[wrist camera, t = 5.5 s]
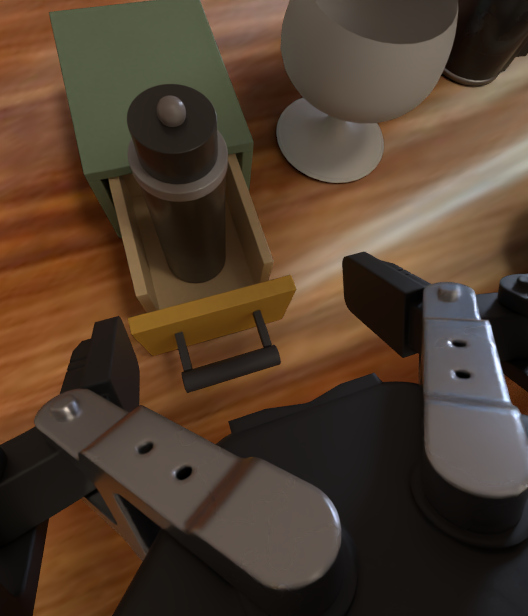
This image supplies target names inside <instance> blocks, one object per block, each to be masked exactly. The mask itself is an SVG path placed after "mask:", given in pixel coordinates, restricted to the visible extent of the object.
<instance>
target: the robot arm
mask: <svg viewBox="0 0 528 616" xmlns="http://www.w3.org/2000/svg"><path fill="white" fill-rule="evenodd" d="M527 53H528V0H458V18H457V26H456V33H455V38H454V42H453V46H452V49H451V52H450V55H449V58H448V61H447V63H446V65H445V68H444V70H443V72H442V74H444V75H445V76H446V77H448V78H449V79H451V80H453V81H455V82H458V83H461V84H464V85H470V86H480V85H485V84H488V83H490V82H492V81H493V80H494V79H495V78H496V77H497V76H498V75H499V73H500V72H502V71H505V70H506V69H507V67H508V66H509V65H510V63H511V62H512V61H513V60H514V58H515V57H520V56H526V55H527ZM342 267H343V286H344V299H345V302H346V305H347V307H348V309H349V310H350V311H351V312H352V313H353V314H354V315H355V316H356V317H357V318H358V319H360V320H361V321H362V322H363V323H364V324H365V325H366V326H367V327H369V328H370V329H371V330H372V331H373V332H374V333H375V334H376V335H378V336H379V337H380V338H381V339H382V340H383V341H384V342H385V343H387V344H388V345H389V346H390V347H391V348H392V349H393V350H394V351H396V352H397V353H398V354H399V355H400V356H401V357H402V358H404V357H407V356H410V355H413V354H416V353H418V354H419V372H418V384H416V383H409V382H382V381H381V380H380V379H379V378H378V377H377V376H376V375H375V374H374V373H372V374H369V375H366V376H363V377H360V378H357V379H354V380H351V381H348V382H345V383H342V384H340V385H338V386H336V387H335V388H333V389H331V390H330V391H328V392H326V393H324V394H323V395H321V396H319V397H318V398H316V399H314V400H313V401H311V402H309V403H305V404H298V405H291V406H283V407H276V408H269V409H264V410H261V411H258V412H255V413H252V414H249V415H246V416H243V417H240V418H237V419H234V420H231V421H228V422H229V425H230V429H231V434H229V435H228V436H226V437H225V438H223V439H222V440H221V441H219V442H218V443H217V444H216V445H215V444H214V443H212V442H210V441H208V440H206V439H204V438H202V437H201V436H199V435H197V434H195V433H193V432H191V431H189V430H188V429H186V428H184V427H182V426H180V425H178V424H176V423H175V422H173V421H171V420H169V419H167V418H165V417H163V416H162V415H160V414H158V413H156V412H154V411H152V410H150V409H148V408H147V407H145V406H142V405H139V380H140V372H139V365H138V361H137V358H136V355H135V352H134V350H133V347H132V345H131V342H130V340H129V337H128V335H127V332H126V330H125V327H124V324H123V322H122V320H121V318H120V317H119V316H117V317H113V318H110V319H106V320H102V321H98V322H95V324H94V328H93V333H92V337H91V339H88V340H84V341H82V342H81V343H80V344H79V345H78V346H77V347H76V348H75V350H74V351H73V352H72V356H71V359H70V363H69V365H68V369H67V371H68V372H66V375H65V379H64V382H63V385H62V388H61V392H60V395H58V396H56V397H54V398H52V399H51V400H50V401H48V402H47V403H46V404H45V405H43V406H42V407H41V409H40V410H39V411H38V412H37V414H36V416H35V419H34V423H35V427H34V428H32V429H30V430H29V431H27V432H25V433H23V434H21V435H19V436H17V437H15V438H13V439H11V440H9V441H7V442H5V443H3V444H1V445H0V616H33V610H34V604H35V598H36V592H37V587H38V581H39V575H40V569H41V563H42V557H43V551H44V545H45V539H46V533H47V527H48V522H49V518H50V517H52V516H53V515H55V514H57V513H58V512H60V511H61V510H63V509H65V508H66V507H68V506H70V505H71V504H73V503H74V502H76V501H78V500H79V499H82V500H83V501H84V502H85V503H86V504H87V505H88V506H89V507H90V508H91V509H92V510H93V511H94V512H96V513H97V514H98V515H99V516H100V517H101V518H102V519H103V520H104V521H105V522H106V523H107V524H109V525H110V526H111V527H112V528H113V529H114V530H115V531H116V532H117V533H118V534H119V535H121V536H122V537H123V538H124V540H125V541H126V542H127V543H128V544H129V545H130V547H131V548H132V549H133V551H134V552H135V553H136V555H137V556H138V557H139V558H140V559H141V560H142V561H143V562H142V564H141V565H140V567H139V569H138V571H137V572H136V574H135V576H134V578H133V580H132V581H131V583H130V585H129V587H128V589H127V590H126V592H125V594H124V596H123V597H122V599H121V601H120V603H119V605H118V606H117V608H116V610H115V612H114V614H113V615H112V616H528V416H526V415H523V414H520V411H519V409H518V408H517V407H516V406H513V405H512V403H511V401H510V397H509V393H508V389H507V386H506V382H505V378H504V374H505V375H506V376H507V377H508V378H510V379H511V380H512V381H514V382H515V383H516V384H518V385H519V386H520V387H522V388H523V389H524V390H526V391H527V392H528V274H514V275H509V276H505V277H503V278H502V279H501V280H500V284H499V290H498V293H488V294H478V295H475V292H474V291H473V289H471V288H470V287H468V286H466V285H463V284H459V283H453V282H440V283H434V284H430V283H428V282H426V281H425V280H423V279H421V278H419V277H417V276H415V275H414V274H411V273H410V272H408V271H406V270H403V268H401V267H399V266H397V265H395V264H393V263H389V262H385V261H381V260H379V259H377V258H375V257H373V256H372V255H370V254H368V253H366V252H361V253H357V254H353V255H349V256H346V257H344V258H343V262H342Z"/></svg>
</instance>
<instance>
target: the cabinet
mask: <svg viewBox="0 0 528 616" xmlns="http://www.w3.org/2000/svg"><path fill="white" fill-rule="evenodd" d="M49 15H50V19H51V24H52V29H53V33H54V38H55V43H56V47H57V52H58V57H59V61H60V66H61V71H62V75H63V80H64V85H65V89H66V94H67V99H68V103H69V108H70V113H71V117H72V122H73V127H74V131H75V136H76V141H77V145H78V150H79V155H80V159H81V164H82V168H83V173H84V176H85V178H86V179H87V181H88V183H89V185H90V187H91V189H92V190H93V192H94V194H95V196H96V198H97V199H98V201H99V203H100V205H101V207H102V208H103V210H104V212H105V214H106V216H107V217H108V219H109V221H110V223H111V224H112V226H113V228H114V230H115V232H116V233H117V235H118V237H119V238H122V235H121V231H120V227H119V223H118V218H117V214H116V210H115V206H114V201H113V197H112V193H111V189H110V184H109V180H108V178H111V177H117V176H122V175H127V174H132V170H131V167H130V165H129V161H128V146H129V143H130V140H131V135H130V131H129V128H128V125H127V112H128V109H129V106H130V104H131V102H132V101H133V100H134V99H135V98H136V97H137V96H138V95H139V94H140V93H141V92H143V91H145V90H146V89H148V88H151V87H154V86H157V85H162V84H180V85H185V86H188V87H191V88H193V89H196V90H197V91H199V92H201V93H202V94H204V95H205V96H206V97H207V98H208V99H209V100H210V102H211V103H212V105H213V106H214V109H215V111H216V115H217V130H218V131H219V132H220V133H221V135H222V137H223V138H224V140H225V143H226V146H227V150H228V155H229V154H235V155H236V157H237V160H238V163H239V166H240V168H241V171H242V174H243V177H244V180H245V182H246V185H247V188H248V191H249V186H250V176H251V165H252V154H253V144H254V142H253V139H252V136H251V134H250V131H249V128H248V126H247V123H246V121H245V118H244V115H243V113H242V110H241V107H240V105H239V102H238V99H237V97H236V94H235V92H234V89H233V86H232V84H231V81H230V78H229V76H228V73H227V70H226V68H225V65H224V63H223V60H222V57H221V55H220V52H219V49H218V47H217V44H216V41H215V39H214V36H213V34H212V31H211V28H210V26H209V23H208V20H207V18H206V15H205V13H204V10H203V7H202V5H201V2H200V0H153V1H144V2H135V3H126V4H117V5H108V6H99V7H90V8H81V9H72V10H63V11H54V12H49Z"/></svg>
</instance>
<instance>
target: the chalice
mask: <svg viewBox="0 0 528 616" xmlns="http://www.w3.org/2000/svg"><path fill="white" fill-rule="evenodd" d="M457 18H458V0H290V2H289V4H288V7H287V10H286V13H285V17H284V20H283V24H282V34H281V53H282V57H283V62H284V66H285V70H286V72H287V74H288V76H289V78H290V80H291V82H292V84H293V85H294V87H295V88H296V89H297V90H298V92H299V93H300V94H301V96H302V97H303V98H301V99H298V100H296V101H295V102H293V103H292V104H290V105H289V106H288V107H287V108H286V109H285V110H284V111H283V113H282V114H281V116H280V118H279V121H278V123H277V131H276V134H277V141H278V144H279V147H280V149H281V151H282V153H283V155H284V156H285V157H286V159H287V160H288V161H289V162H290V163H291V164H292V165H293V166H294V167H295V168H296V169H298V170H299V171H301V172H302V173H304V174H306V175H307V176H309V177H312V178H315V179H318V180H320V181H326V182H332V183H343V182H350V181H354V180H358V179H360V178H362V177H364V176H366V175H368V174H369V173H370V172H371V171H372V170H373V169H375V168H376V166H377V165H378V163H379V162H380V160H381V157H382V154H383V151H384V140H383V136H382V132H381V129H380V128H379V126H378V124H377V123H379V122H384V121H389V120H392V119H395V118H398V117H400V116H402V115H404V114H406V113H408V112H410V111H411V110H413V109H414V108H415V107H416V106H418V105H419V104H420V103H421V102H422V101H423V100H424V99H425V98H426V97H427V96H428V95H429V94H430V93H431V91H432V90H433V88H434V87H435V85H436V84H437V82H438V80H439V78H440V76H441V74H442V72H443V70H444V68H445V65H446V63H447V61H448V58H449V55H450V52H451V49H452V46H453V42H454V38H455V33H456V26H457Z"/></svg>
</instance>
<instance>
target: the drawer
mask: <svg viewBox="0 0 528 616" xmlns="http://www.w3.org/2000/svg"><path fill="white" fill-rule="evenodd" d="M108 180H109V184H110V189H111V193H112V197H113V201H114V206H115V210H116V214H117V218H118V223H119V227H120V231H121V235H122V240H123V244H124V248H125V252H126V257H127V261H128V265H129V269H130V273H131V278H132V282H133V286H134V290H135V295H136V297H137V299H138V300H139V302H140V303H141V305H142V306H143V308H144V309H145V311H146V312H147V313H145V314H141V315H137V316H134V317H130V318H128V322H129V327H130V331H131V335H132V336H133V337H134V338H135V339H136V340H137V341H138V342H139V343H140V344H141V345H142V346H143V347H144V348H145V349H146V350H147V351H148V352H149V353H150V354H151V355H152V356H155V355H159V354H162V353H166V352H169V351H173V350H176V349H178V350H179V354H180V358H181V362H182V365H183V369H184V371H185V372H182V379H183V383H184V386H185V390H186V392H187V393H189V392H192V391H196V390H199V389H202V388H205V387H208V386H212V385H215V384H218V383H221V382H225V381H228V380H231V379H234V378H237V377H241V376H244V375H247V374H250V373H253V372H257V371H260V370H263V369H266V368H270V367H273V366H276V365H279V364H280V363H281V361H280V356H279V352H278V350H277V347H276V346H275V345H272V344H271V341H270V338H269V335H268V332H267V329H266V326H265V324H266V323H270V322H273V321H277V320H280V319H282V317H283V315H284V313H285V311H286V309H287V307H288V305H289V303H290V301H291V299H292V297H293V295H294V293H295V291H296V287H295V284H294V281H293V279H292V276H291V275H288V276H284V277H281V278H277V279H273V280H269V276H270V273H271V269H272V266H273V262H274V260H273V258H272V255H271V252H270V249H269V247H268V244H267V241H266V238H265V235H264V233H263V230H262V227H261V224H260V221H259V219H258V216H257V213H256V210H255V207H254V205H253V202H252V199H251V196H250V194H249V191H248V188H247V185H246V182H245V180H244V177H243V174H242V171H241V168H240V166H239V163H238V160H237V157H236V155H235V154H229V155H228V167H227V171H226V174H225V218H226V260H225V264H224V267H223V269H222V270H221V272H220V273H219V274H218V275H217V276H216V277H215V278H213V279H211V280H209V281H207V282H204V283H188V282H185V281H182V280H180V279H179V278H177V277H176V276H175V275H174V274H173V273H172V272H171V270H170V269H169V267H168V264H167V261H166V258H165V255H164V252H163V250H162V247H161V244H160V241H159V238H158V235H157V233H156V230H155V227H154V224H153V221H152V218H151V216H150V213H149V210H148V207H147V204H146V201H145V199H144V196H143V193H142V190H141V187H140V185H139V183H138V182H137V181H136V179H135V177H134V175H133V173H132V174H127V175H122V176H117V177H111V178H108ZM268 280H269V281H268ZM256 326H257V329H258V333H259V336H260V339H261V342H262V345H263V348H262V349H258V350H255V351H252V352H248V353H245V354H242V355H238V356H235V357H232V358H228V359H225V360H222V361H218V362H215V363H212V364H208V365H205V366H202V367H198V368H195V369H193V368H192V364H191V361H190V357H189V353H188V349H187V346H190V345H193V344H197V343H200V342H204V341H207V340H211V339H214V338H218V337H221V336H225V335H228V334H232V333H235V332H239V331H242V330H246V329H249V328H252V327H256ZM271 345H272V346H271Z"/></svg>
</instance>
